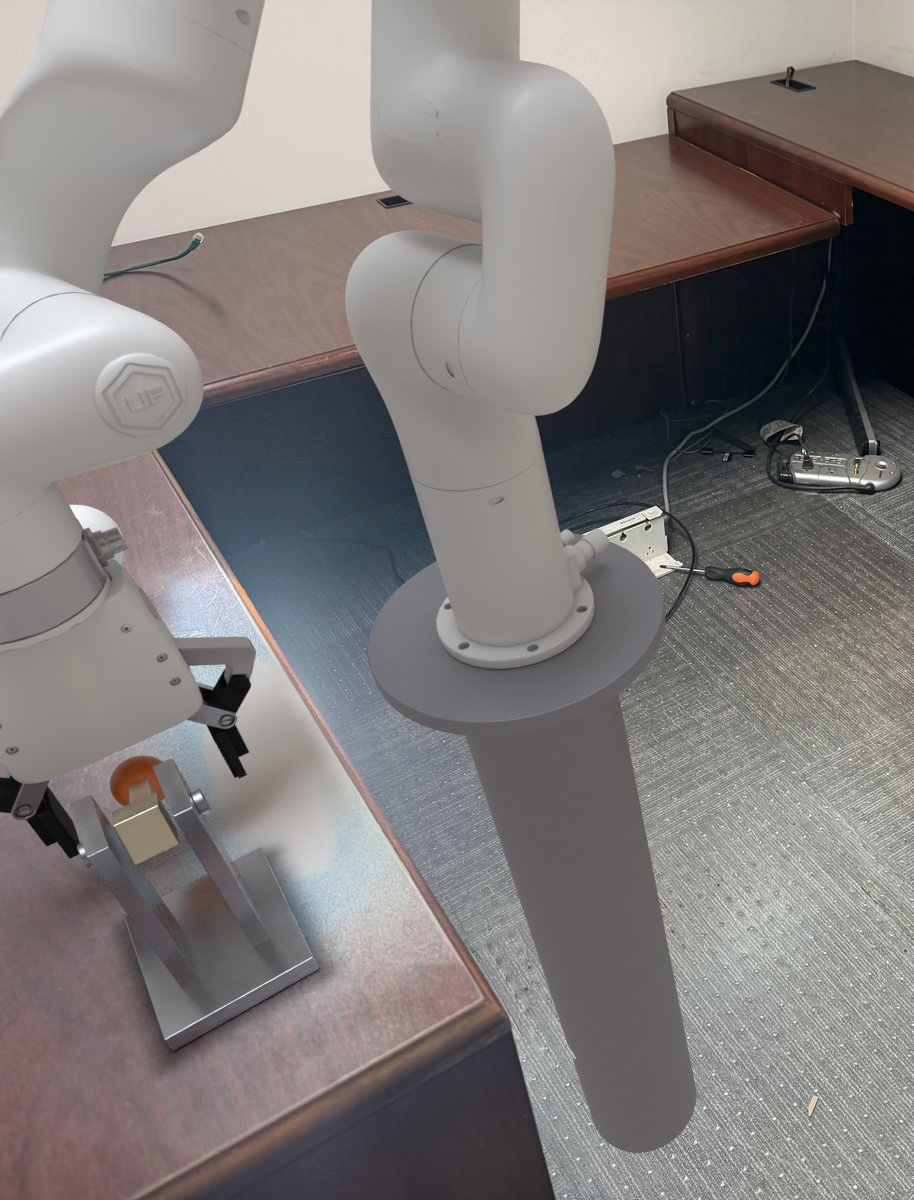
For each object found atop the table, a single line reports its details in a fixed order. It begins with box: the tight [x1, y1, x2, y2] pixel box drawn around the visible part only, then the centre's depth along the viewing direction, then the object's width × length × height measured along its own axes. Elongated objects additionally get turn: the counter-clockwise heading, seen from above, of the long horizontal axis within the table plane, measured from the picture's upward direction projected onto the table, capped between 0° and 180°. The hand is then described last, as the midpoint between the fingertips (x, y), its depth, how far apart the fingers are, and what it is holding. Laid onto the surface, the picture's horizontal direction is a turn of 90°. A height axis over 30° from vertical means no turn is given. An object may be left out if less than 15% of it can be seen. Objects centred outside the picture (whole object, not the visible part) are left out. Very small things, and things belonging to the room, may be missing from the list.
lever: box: [109, 754, 180, 865], centre depth 61 cm, size 13×3×3 cm, turn 36°
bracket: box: [69, 758, 320, 1052], centre depth 60 cm, size 10×8×13 cm
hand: (156, 801), depth 67 cm, fingers open, 9 cm apart
